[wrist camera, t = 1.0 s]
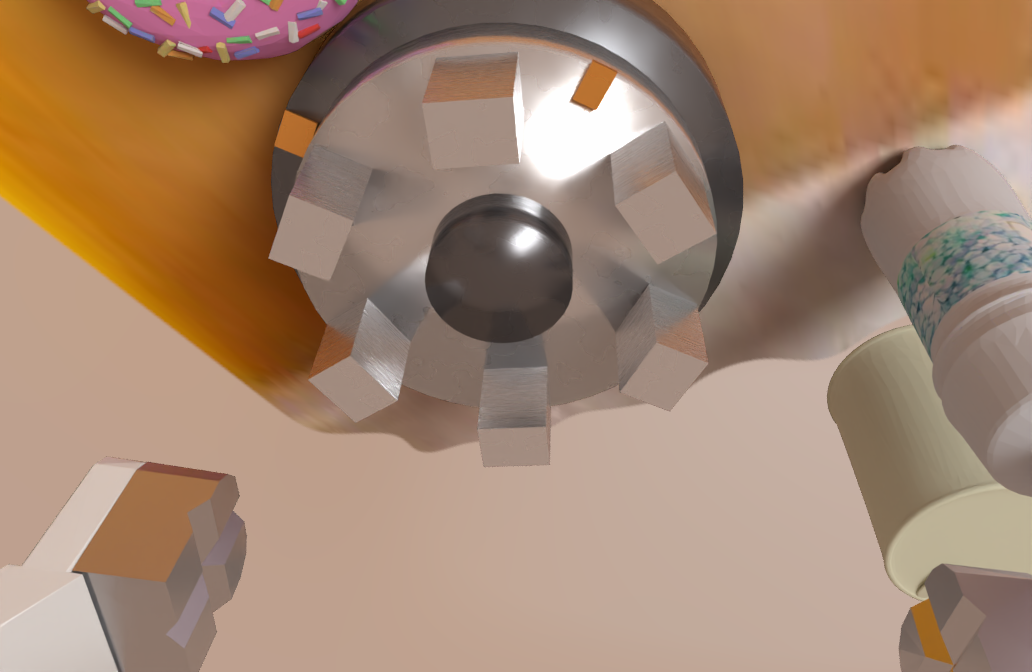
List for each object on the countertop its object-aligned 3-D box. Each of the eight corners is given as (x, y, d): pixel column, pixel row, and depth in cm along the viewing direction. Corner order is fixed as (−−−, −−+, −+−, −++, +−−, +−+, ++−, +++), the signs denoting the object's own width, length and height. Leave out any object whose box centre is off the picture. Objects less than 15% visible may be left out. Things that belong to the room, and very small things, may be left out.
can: (792, 406, 50) (844, 579, 41) (907, 296, 45) (996, 465, 36) (912, 461, 53) (987, 637, 43) (1034, 363, 48) (1149, 538, 38)
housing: (247, 260, 46) (223, 306, 42) (375, -146, 33) (354, -124, 30) (598, 392, 50) (601, 443, 47) (822, 81, 38) (846, 121, 35)
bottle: (936, 266, 44) (1141, 607, 28) (819, 227, 43) (966, 560, 27) (1025, 153, 40) (1322, 478, 24) (899, 107, 39) (1124, 417, 23)
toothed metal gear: (260, 297, 42) (217, 387, 37) (382, -67, 31) (346, -11, 26) (589, 419, 46) (592, 515, 41) (797, 134, 35) (836, 216, 30)
